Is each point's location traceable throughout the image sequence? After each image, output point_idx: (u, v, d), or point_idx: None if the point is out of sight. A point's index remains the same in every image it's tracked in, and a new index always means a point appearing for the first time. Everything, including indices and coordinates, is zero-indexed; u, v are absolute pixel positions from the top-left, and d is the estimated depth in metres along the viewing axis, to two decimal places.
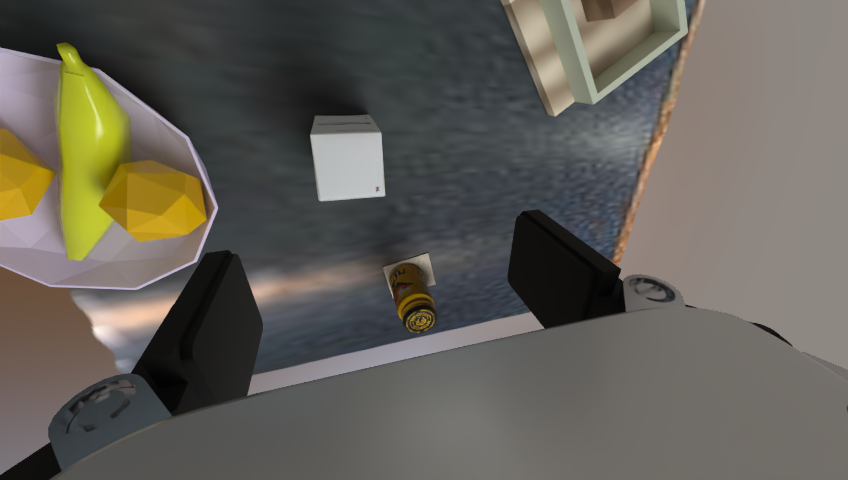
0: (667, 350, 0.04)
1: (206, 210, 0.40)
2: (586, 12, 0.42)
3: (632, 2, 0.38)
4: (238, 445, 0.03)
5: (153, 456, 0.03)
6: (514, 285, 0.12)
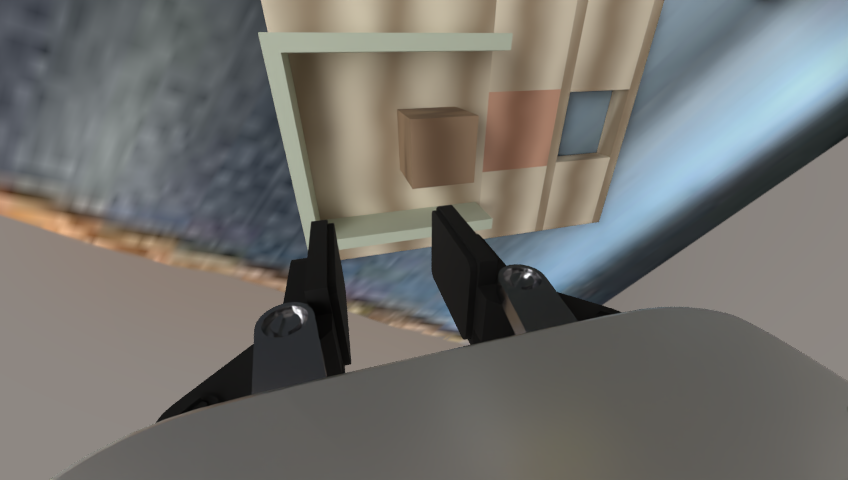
0: (667, 350, 0.04)
1: None
2: (412, 109, 0.26)
3: (414, 155, 0.23)
4: (238, 445, 0.03)
5: (153, 456, 0.03)
6: (435, 278, 0.12)
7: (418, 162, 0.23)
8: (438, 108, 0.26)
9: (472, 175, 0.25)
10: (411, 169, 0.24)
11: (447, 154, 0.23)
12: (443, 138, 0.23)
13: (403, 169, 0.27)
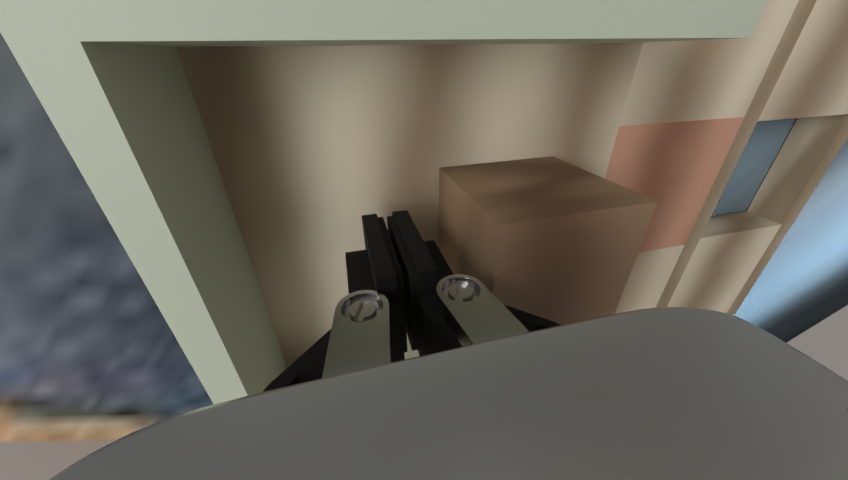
0: (667, 350, 0.04)
1: None
2: (473, 167, 0.12)
3: None
4: (238, 445, 0.03)
5: (153, 456, 0.03)
6: None
7: None
8: (525, 164, 0.12)
9: None
10: None
11: (569, 287, 0.10)
12: (570, 256, 0.09)
13: None
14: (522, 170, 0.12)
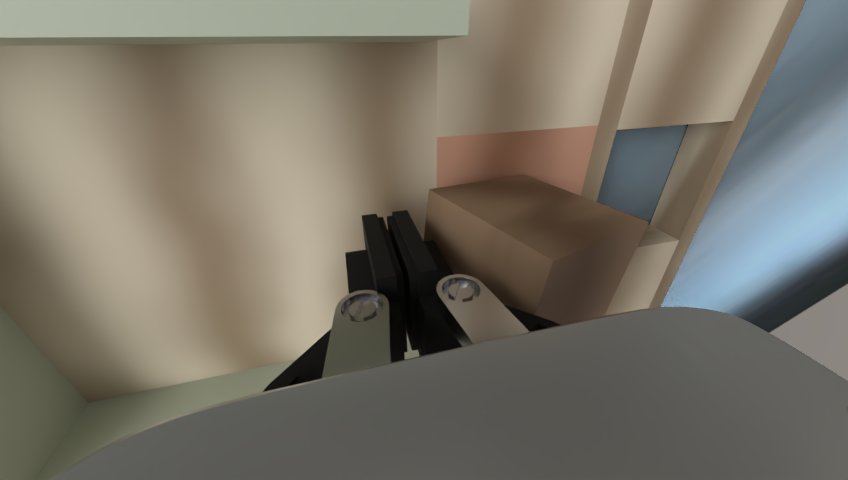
0: (667, 350, 0.04)
1: None
2: (463, 188, 0.11)
3: None
4: (238, 445, 0.03)
5: (154, 457, 0.03)
6: None
7: None
8: (508, 183, 0.12)
9: None
10: None
11: (580, 309, 0.10)
12: (589, 280, 0.09)
13: None
14: (512, 191, 0.11)
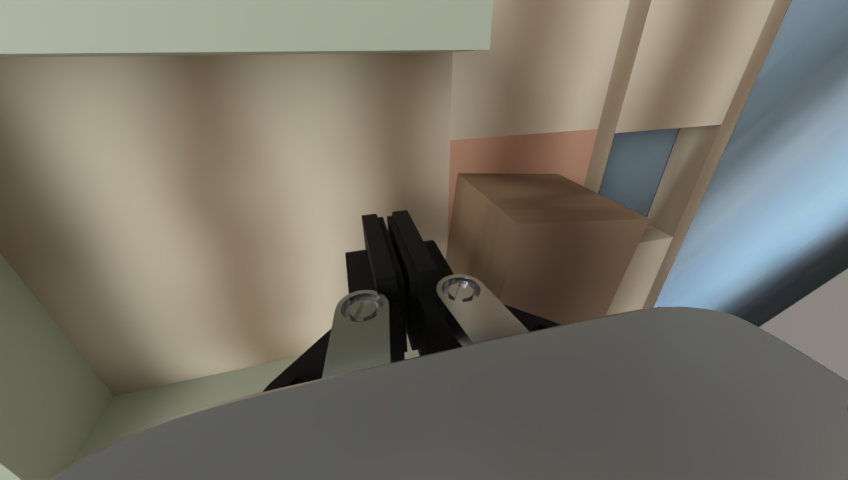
0: (667, 350, 0.04)
1: None
2: (488, 176, 0.13)
3: (507, 292, 0.10)
4: (238, 445, 0.03)
5: (154, 456, 0.03)
6: None
7: (512, 302, 0.11)
8: (534, 177, 0.14)
9: None
10: None
11: (568, 288, 0.11)
12: (572, 259, 0.11)
13: None
14: (532, 182, 0.13)
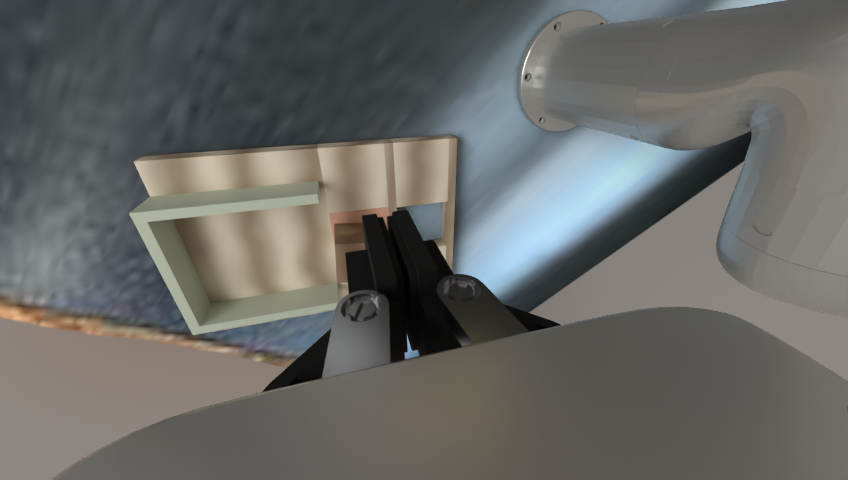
0: (667, 350, 0.04)
1: None
2: (344, 224, 0.38)
3: (337, 264, 0.35)
4: (238, 445, 0.03)
5: (153, 457, 0.03)
6: None
7: (340, 267, 0.35)
8: None
9: None
10: (336, 271, 0.35)
11: None
12: None
13: None
14: (359, 227, 0.37)
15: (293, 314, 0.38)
